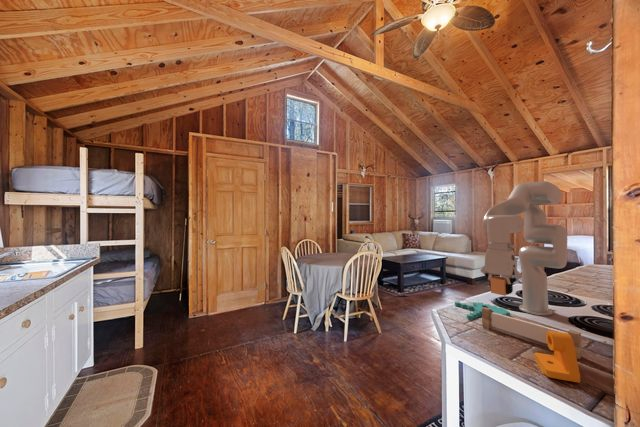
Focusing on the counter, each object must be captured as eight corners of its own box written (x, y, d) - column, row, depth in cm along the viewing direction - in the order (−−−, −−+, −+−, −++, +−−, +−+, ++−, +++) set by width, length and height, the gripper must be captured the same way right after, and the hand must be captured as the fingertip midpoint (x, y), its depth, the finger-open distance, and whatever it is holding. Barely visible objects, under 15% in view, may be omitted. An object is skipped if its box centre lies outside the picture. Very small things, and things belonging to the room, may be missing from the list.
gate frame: (485, 325, 111) (485, 306, 111) (582, 356, 85) (581, 332, 85) (482, 327, 109) (481, 308, 109) (579, 359, 84) (578, 334, 84)
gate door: (493, 325, 107) (493, 312, 107) (569, 349, 87) (568, 333, 87) (490, 326, 106) (490, 313, 106) (567, 351, 86) (566, 334, 86)
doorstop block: (497, 290, 107) (496, 275, 107) (511, 293, 103) (510, 278, 103) (490, 292, 105) (490, 277, 105) (504, 295, 100) (504, 280, 100)
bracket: (533, 360, 84) (532, 323, 84) (562, 365, 81) (561, 326, 81) (547, 379, 74) (545, 337, 74) (580, 385, 71) (578, 342, 71)
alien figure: (468, 320, 117) (518, 323, 113) (468, 316, 117) (518, 318, 113) (454, 305, 137) (496, 307, 133) (454, 301, 137) (496, 303, 133)
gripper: (528, 247, 98) (530, 295, 98) (482, 244, 113) (483, 285, 113) (519, 249, 95) (521, 299, 95) (472, 245, 109) (474, 288, 109)
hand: (501, 291), depth 104 cm, fingers closed on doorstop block, 5 cm apart
